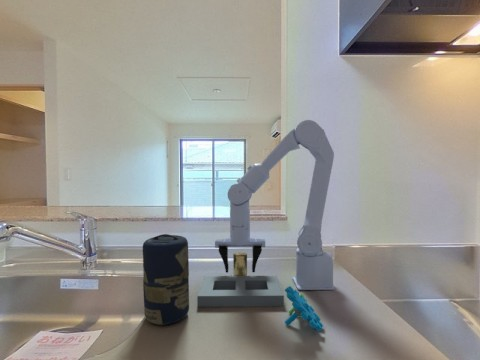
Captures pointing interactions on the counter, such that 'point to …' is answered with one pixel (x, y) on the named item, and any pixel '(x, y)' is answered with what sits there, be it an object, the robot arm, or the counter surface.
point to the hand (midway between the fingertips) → (240, 271)
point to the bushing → (240, 264)
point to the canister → (165, 278)
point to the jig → (240, 291)
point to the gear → (302, 309)
